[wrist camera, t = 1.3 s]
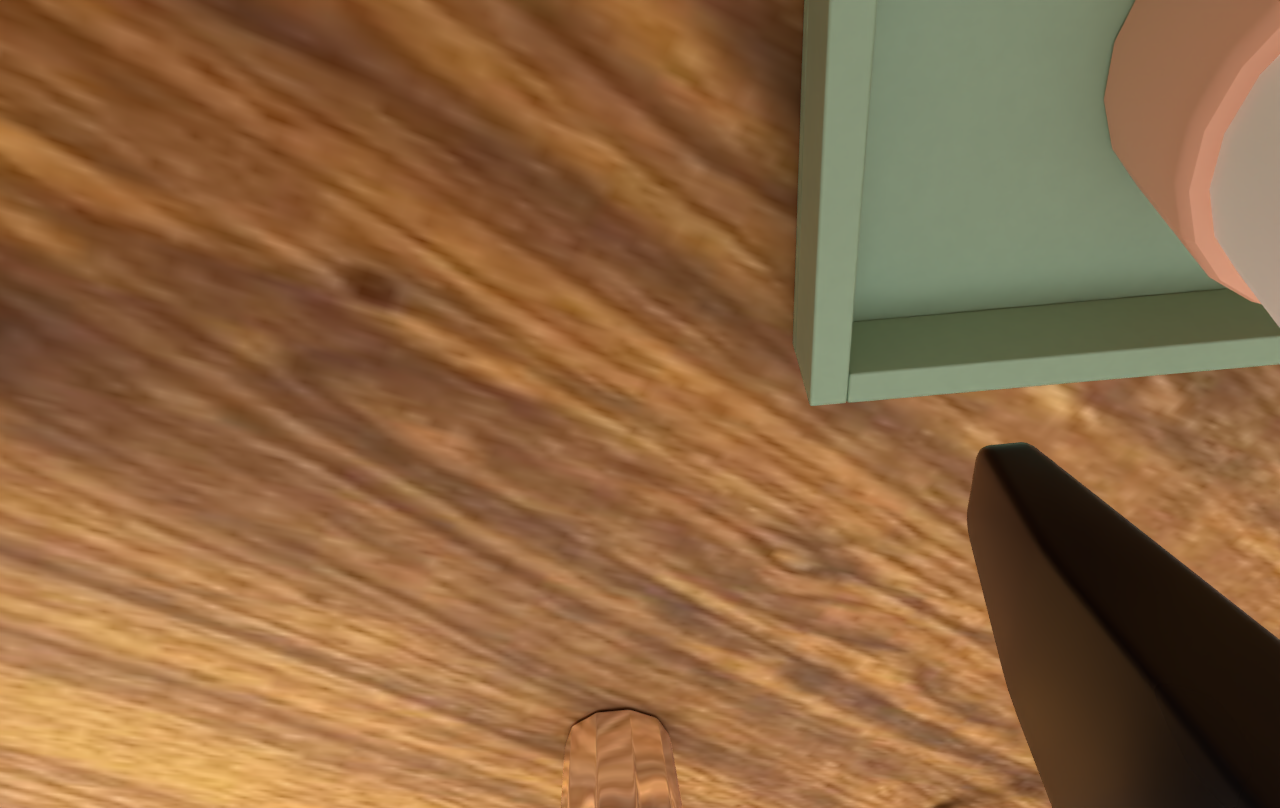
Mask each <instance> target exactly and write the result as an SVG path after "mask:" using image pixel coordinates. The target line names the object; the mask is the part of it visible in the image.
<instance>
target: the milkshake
mask: <svg viewBox="0 0 1280 808" xmlns="http://www.w3.org/2000/svg"><path fill="white" fill-rule="evenodd" d="M561 808H683V807H682V801H681V795H680V790H679V784H678V779H677V773H676V767H675V762H674V756H673V750H672V745H671V740H670V736H669V734H668V732H667V731H666V730H665V728H664V727H663V726H662V724H661V723H660V721H659V720H658V718H656V717H652V716H649V715H646V714H642V713H639V712H636V711H633V710H619V711H609V712H598V713H595V714H593V715H592V716H590V717H588V718H586V719H584V720H583V721H581V722H579V723H577V724H575V725H573V726H572V728H571V731H570V734H569V736H568V739H567V742H566V745H565V752H564V766H563V782H562V797H561Z"/></svg>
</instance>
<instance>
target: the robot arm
mask: <svg viewBox="0 0 1280 808" xmlns="http://www.w3.org/2000/svg"><path fill="white" fill-rule="evenodd" d="M967 526H968V533H969V538H970V542H971V546H972V550H973V554H974V558H975V562H976V566H977V570H978V574H979V578H980V582H981V586H982V590H983V594H984V598H985V602H986V606H987V610H988V614H989V618H990V622H991V626H992V630H993V634H994V638H995V642H996V646H997V650H998V654H999V658H1000V662H1001V666H1002V669H1003V673H1004V677H1005V680H1006V684H1007V688H1008V691H1009V694H1010V697H1011V699H1012V702H1013V705H1014V708H1015V711H1016V714H1017V716H1018V719H1019V722H1020V724H1021V727H1022V730H1023V732H1024V735H1025V737H1026V740H1027V743H1028V745H1029V748H1030V750H1031V753H1032V756H1033V758H1034V761H1035V763H1036V766H1037V769H1038V771H1039V774H1040V776H1041V779H1042V782H1043V784H1044V787H1045V790H1046V792H1047V795H1048V797H1049V800H1050V803H1051V805H1052V808H1280V640H1279V639H1278V638H1277V637H1275V636H1274V635H1273V634H1271V633H1270V632H1269V631H1268V630H1266V629H1265V628H1264V627H1263V626H1261V625H1260V624H1259V623H1258V622H1256V621H1255V620H1254V619H1252V618H1251V617H1250V616H1249V615H1247V614H1246V613H1245V612H1244V611H1242V610H1241V609H1240V608H1238V607H1237V606H1236V605H1235V604H1233V603H1232V602H1231V601H1230V600H1228V599H1227V598H1226V597H1225V596H1223V595H1222V594H1221V593H1219V592H1218V591H1217V590H1216V589H1214V588H1213V587H1212V586H1211V585H1209V584H1208V583H1207V582H1205V581H1204V580H1203V579H1202V578H1200V577H1199V576H1198V575H1197V574H1195V573H1194V572H1193V571H1191V570H1190V569H1189V568H1188V567H1186V566H1185V565H1184V564H1183V563H1181V562H1180V561H1179V560H1178V559H1176V558H1175V557H1174V556H1172V555H1171V554H1170V553H1169V552H1167V551H1166V550H1165V549H1164V548H1162V547H1161V546H1160V545H1158V544H1157V543H1156V542H1155V541H1153V540H1152V539H1151V538H1150V537H1148V536H1147V535H1146V534H1145V533H1143V532H1142V531H1141V530H1139V529H1138V528H1137V527H1136V526H1134V525H1133V524H1132V523H1131V522H1129V521H1128V520H1127V519H1125V518H1124V517H1123V516H1122V515H1120V514H1119V513H1118V512H1117V511H1115V510H1114V509H1113V508H1111V507H1110V506H1109V505H1108V504H1106V503H1105V502H1104V501H1103V500H1101V499H1100V498H1099V497H1098V496H1096V495H1095V494H1094V493H1092V492H1091V491H1090V490H1089V489H1087V488H1086V487H1085V486H1084V485H1082V484H1081V483H1080V482H1078V481H1077V480H1076V479H1075V478H1073V477H1072V476H1071V475H1070V474H1068V473H1067V472H1066V471H1065V470H1063V469H1062V468H1061V467H1059V466H1058V465H1057V464H1056V463H1054V462H1053V461H1052V460H1051V459H1049V458H1048V457H1047V456H1045V455H1044V454H1043V453H1042V452H1040V451H1039V450H1038V449H1037V448H1035V447H1034V446H1032V445H1030V444H1028V443H1023V442H1019V443H1009V444H999V445H989V446H986V447H983V448H982V449H981V450H980V451H979V453H978V455H977V457H976V462H975V468H974V474H973V480H972V486H971V491H970V497H969V503H968V510H967Z"/></svg>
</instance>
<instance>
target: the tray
mask: <svg viewBox="0 0 1280 808" xmlns="http://www.w3.org/2000/svg"><path fill="white" fill-rule="evenodd" d="M1134 2H1135V0H804V22H803V52H802V82H801V111H800V141H799V171H798V201H797V231H796V261H795V290H794V320H793V346H794V350H795V352H796V356H797V360H798V364H799V367H800V371H801V375H802V378H803V382H804V386H805V390H806V393H807V397H808V401H809V404H810V405H811V406H816V405H827V404H838V403H845V402H846V401H848V402H850V403H851V402H862V401H873V400H884V399H896V398H907V397H918V396H929V395H940V394H952V393H963V392H974V391H985V390H996V389H1008V388H1019V387H1030V386H1041V385H1052V384H1064V383H1075V382H1086V381H1097V380H1108V379H1120V378H1131V377H1142V376H1153V375H1164V374H1176V373H1187V372H1198V371H1209V370H1220V369H1232V368H1243V367H1254V366H1265V365H1276V364H1280V328H1279V326H1278V325H1277V324H1276V322H1275V321H1274V320H1273V318H1272V317H1271V316H1270V314H1269V313H1268V312H1267V310H1266V309H1265V308H1264V307H1263V305H1262V304H1259V303H1255V302H1251V301H1249V300H1248V299H1246V298H1244V297H1242V296H1241V295H1239V294H1237V293H1235V292H1234V291H1232V290H1230V289H1229V288H1227V287H1225V286H1223V285H1222V284H1220V283H1218V282H1216V281H1215V280H1213V279H1211V278H1210V277H1209V276H1208V275H1207V274H1206V273H1205V271H1204V270H1203V269H1202V268H1201V266H1200V265H1199V264H1198V262H1197V261H1196V260H1195V259H1194V257H1193V256H1192V255H1191V254H1190V252H1189V251H1188V250H1187V249H1186V247H1185V246H1184V245H1183V243H1182V242H1181V241H1180V240H1179V238H1178V237H1177V236H1176V235H1175V233H1174V232H1173V231H1172V229H1171V228H1170V227H1169V226H1168V224H1167V223H1166V222H1165V221H1164V219H1163V218H1162V217H1161V215H1160V214H1159V213H1158V212H1157V210H1156V209H1155V208H1154V207H1153V205H1152V204H1151V203H1150V202H1149V200H1148V199H1147V198H1146V196H1145V195H1144V194H1143V193H1142V191H1141V190H1140V189H1139V188H1138V186H1137V185H1136V183H1135V182H1134V180H1133V179H1132V177H1131V176H1130V174H1129V173H1128V172H1127V170H1126V169H1125V167H1124V166H1123V164H1122V163H1121V161H1120V160H1119V158H1118V157H1117V155H1116V154H1115V152H1114V151H1113V149H1112V145H1111V140H1110V134H1109V128H1108V122H1107V116H1106V110H1105V105H1104V95H1105V90H1106V85H1107V79H1108V74H1109V68H1110V63H1111V58H1112V52H1113V47H1114V42H1115V40H1116V38H1117V36H1118V34H1119V32H1120V30H1121V28H1122V26H1123V24H1124V22H1125V20H1126V18H1127V16H1128V14H1129V12H1130V10H1131V8H1132V6H1133V4H1134Z"/></svg>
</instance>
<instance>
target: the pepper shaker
mask: <svg viewBox="0 0 1280 808" xmlns="http://www.w3.org/2000/svg"><path fill="white" fill-rule="evenodd" d="M1104 105H1105V110H1106V116H1107V122H1108V128H1109V134H1110V140H1111V145H1112V149H1113V151H1114V152H1115V154H1116V155H1117V157H1118V158H1119V160H1120V161H1121V163H1122V164H1123V166H1124V167H1125V169H1126V170H1127V172H1128V173H1129V174H1130V176H1131V177H1132V179H1133V180H1134V182H1135V183H1136V185H1137V186H1138V188H1139V189H1140V190H1141V191H1142V193H1143V194H1144V195H1145V196H1146V198H1147V199H1148V200H1149V202H1150V203H1151V204H1152V205H1153V207H1154V208H1155V209H1156V210H1157V212H1158V213H1159V214H1160V215H1161V217H1162V218H1163V219H1164V221H1165V222H1166V223H1167V224H1168V226H1169V227H1170V228H1171V229H1172V231H1173V232H1174V233H1175V235H1176V236H1177V237H1178V238H1179V240H1180V241H1181V242H1182V243H1183V245H1184V246H1185V247H1186V249H1187V250H1188V251H1189V252H1190V254H1191V255H1192V256H1193V257H1194V259H1195V260H1196V261H1197V262H1198V264H1199V265H1200V266H1201V268H1202V269H1203V270H1204V271H1205V273H1206V274H1207V275H1208V276H1209V277H1210V278H1211V279H1213V280H1215V281H1216V282H1218V283H1220V284H1222V285H1223V286H1225V287H1227V288H1229V289H1230V290H1232V291H1234V292H1235V293H1237V294H1239V295H1241V296H1242V297H1244V298H1246V299H1248V300H1249V301H1251V302H1255V303H1259V304H1262V305H1263V307H1264V308H1265V309H1266V310H1267V312H1268V313H1269V314H1270V316H1271V317H1272V318H1273V320H1274V321H1275V322H1276V324H1277V325H1278V326H1279V328H1280V0H1135V2H1134V4H1133V6H1132V8H1131V10H1130V12H1129V14H1128V16H1127V18H1126V20H1125V22H1124V24H1123V26H1122V28H1121V30H1120V32H1119V34H1118V36H1117V38H1116V40H1115V42H1114V47H1113V52H1112V58H1111V63H1110V68H1109V74H1108V79H1107V85H1106V90H1105V95H1104Z"/></svg>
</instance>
